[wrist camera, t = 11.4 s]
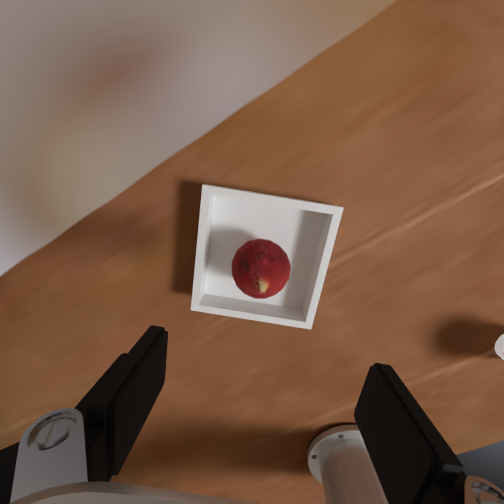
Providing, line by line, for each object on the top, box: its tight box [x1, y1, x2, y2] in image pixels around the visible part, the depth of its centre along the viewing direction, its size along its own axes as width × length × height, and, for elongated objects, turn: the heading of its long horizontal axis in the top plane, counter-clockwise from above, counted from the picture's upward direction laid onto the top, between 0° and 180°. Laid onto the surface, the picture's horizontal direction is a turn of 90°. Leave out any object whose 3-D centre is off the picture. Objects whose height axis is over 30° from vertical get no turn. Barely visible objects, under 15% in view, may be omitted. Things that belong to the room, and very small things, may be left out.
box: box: [191, 185, 343, 329], centre depth 26 cm, size 14×14×4 cm
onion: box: [232, 239, 291, 299], centre depth 23 cm, size 6×6×8 cm
